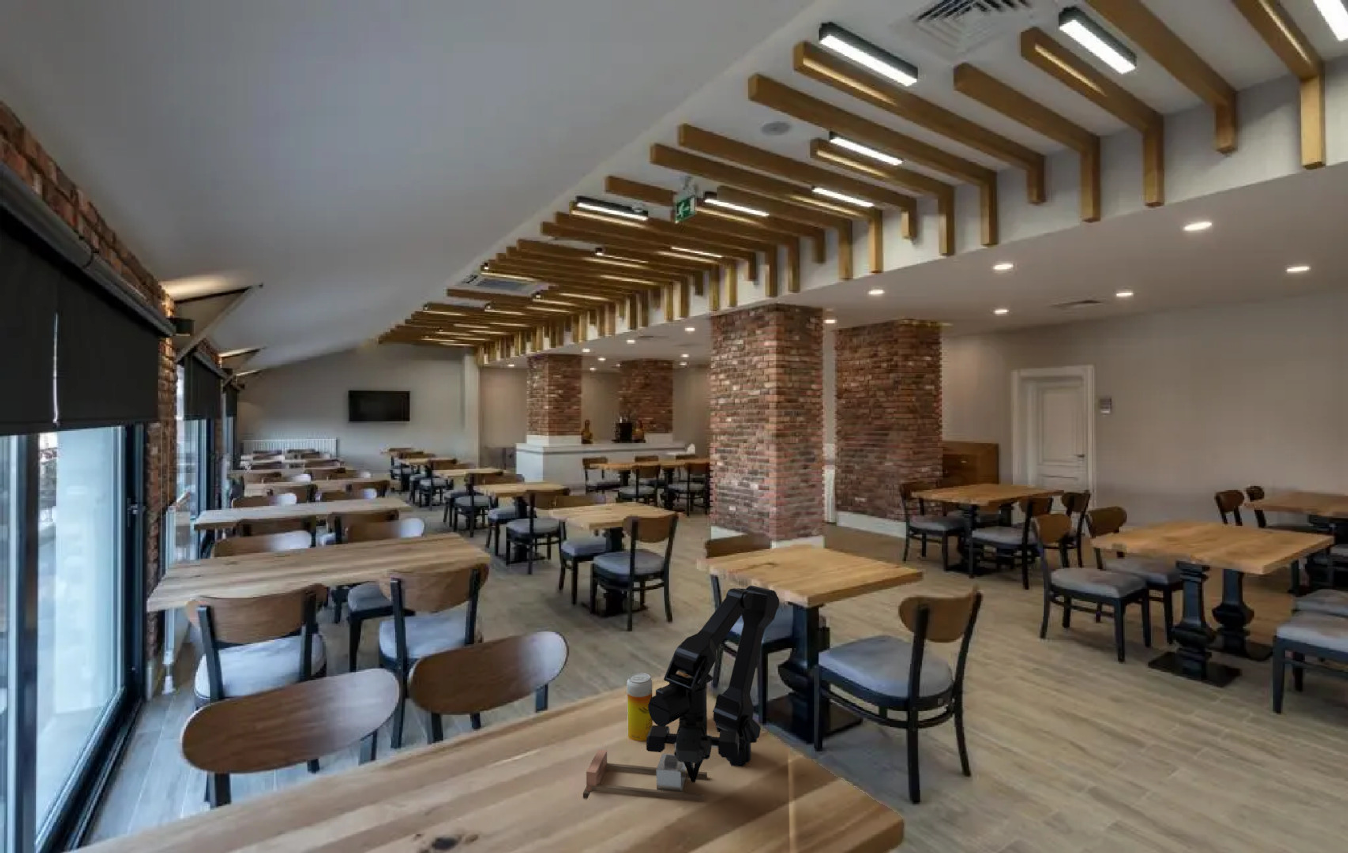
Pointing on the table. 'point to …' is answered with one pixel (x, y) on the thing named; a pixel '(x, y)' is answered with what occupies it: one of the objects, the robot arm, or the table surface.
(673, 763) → the block
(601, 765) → the guide board
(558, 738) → the table surface
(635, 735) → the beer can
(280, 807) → the table surface
